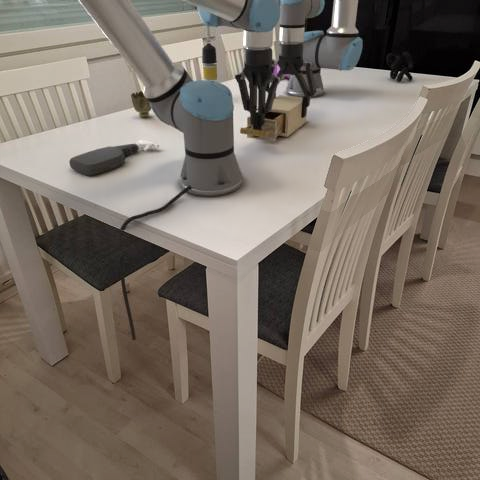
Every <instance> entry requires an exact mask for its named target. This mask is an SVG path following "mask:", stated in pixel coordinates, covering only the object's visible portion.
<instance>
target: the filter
mask: <svg viewBox="0 0 480 480" xmlns="http://www.w3.org/2000/svg"><path fill="white" fill-rule="evenodd" d="M205 27H206V29H205V30H206V31H205V33H206V39H207V40H206V42H207V43H206V45H204V46H202V49H201V50H202V51H201V52H202V54H201V55H202V57H201V58H202V61H201V63H202V71H203V72H202V73H203V74H202V75H203V80H206V81H211V82H216V80H218V64H216V63H218V61H217V48H216V47H215V46H214V45H212V43H210V42H211V40H210V39H211V31H210V29H211V28H210V27H207V26H205Z"/></svg>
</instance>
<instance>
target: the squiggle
mask: <svg viewBox="0 0 480 480" xmlns="http://www.w3.org/2000/svg"><path fill="white" fill-rule="evenodd" d="M401 57H402V59H401ZM391 59H392V60H391ZM393 60H394V61H393ZM385 61H386V64H387V67H390V68H391V70H390V72H389V78H390V79H391V80H395V79H396V81H397V82H399V83H400V82H402V81H403V79H404V76H406V78H407V80H408V81H412V80H413V79H414V77H413V75H412V74H411V73H410V72H409V71H410V70H412V69H413V68H414V64H413V61H412V57H411V54H410V53H409V52H408V51H403V53H402V54H401V55H396V54H394V53H392V52H390V53H387V55H386V57H385ZM406 62H407V65H408V66H407V67H405V66H404V65H405V64H406ZM400 70H401V71H400Z"/></svg>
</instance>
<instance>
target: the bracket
mask: <svg viewBox="0 0 480 480" xmlns="http://www.w3.org/2000/svg"><path fill="white" fill-rule="evenodd" d="M279 70H280V67H279V66H278V65H277V66H276V67H275V70H274V74H275V75H276V76H277V74H278V72H279ZM285 76H286V77H289V78H290V76H291V75H290V74H287V75H286V74H284V75H283V76H282V78H281V81H282V80H286V78H285Z"/></svg>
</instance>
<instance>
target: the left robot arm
mask: <svg viewBox="0 0 480 480" xmlns="http://www.w3.org/2000/svg"><path fill="white" fill-rule="evenodd" d="M77 1H78V2H79V3H80V5H81V6H82V7H83V9H84V10H85V11H86V12H87V14H88V15H89V16H90V18H91V19H92V20H93V21H94V23H95V24H96V25H97V27H98V28H99V29H100V30H101V31H102V33H103V34H104V36H105V37H106V38H107V39H108V41H109V42H110V43H111V45H112V46H113V48H115V50H116V51H117V52H118V54H119V55H120V57H122V59H123V60H124V62H126V64H127V65H128V66H129V67H130V69H131V70H132V72H133V73H134V74H135V75H136V77H137V78H138V79H139V81H140V82H141V83H142V84H143V90H142V92H143V93H144V96H145V97H146V98H147V100H148V101H149V102H150V105H151V111H152V112H153V113H154V116H156V117H157V118H158V119H159V120H160V121H161V122H162V123H163V124H165V125H168V126H170V127H172V128H174V129H175V130H177V131H178V132H180V133H183V141H184V142H183V143H184V154H185V155H184V158H183V164H182V168H181V171H180V177H179V178H180V179H179V183H180V184H179V185H180V188H181V189H182V190H181V191H179V192H178V193H177V194H176V195H175V196H174V197H173V198H171V199H169V201H167V203H165V204H164V205H163V206H161V207H159V208H155V209H152V210H148V211H146V212H143V213H140V214H136V215H132V216H130V217H129V218H127V219H125V220H124V222H123V223H122V225H121V227H120V228H119V230H120V231H124V230H125V229H126V227H128V225H129V224H130V223H131V222H132V221H136V220H139V219H142V218H145V217H148V216H151V215H155V214H158V213H161V212H163V211H165V210H166V209H169V207H171V205H172V204H174V203H175V202H177V200H178V199H180V198H181V197H182V196H183V195H184V194H186V193H187V194H190V195H194V196H199V197H221V196H224V195H229V194H232V193H234V192H235V191H237V190H239V189H240V188H241V187H242V185H243V174H242V171H241V168H240V165H239V163H238V160H237V157H236V154H235V132H234V131H235V130H234V127H235V126H234V110H235V105H234V100H233V98H234V97H233V94H232V91H231V89H230V88H229V87H228V86H227V85H225V84H223V83H221V82H219V81H215V82H211V81H208V80H204V79H203V80H193V78H192V77H191V76H190V74H189V73H188V71H187V70H186V68H185V67H184V65H183V64H181V63H179V62H173V61H172V59H171V58H170V56H169V55H168V54H167V52H166V51H165V49H164V48H163V46H162V44H161V43H160V42H159V40H158V39H157V38H156V36H155V35H154V33H153V32H152V30H151V29H150V28H149V26H148V25H147V23H146V21H145V20H144V19H143V17H142V16H141V15H140V13H139V12H138V10H137V8H136V7H135V5H134V4H133V3H132V2H131V0H77ZM181 1H182V2H185V3H187V4H190V5H192V6H194V7H196V8H198V16H199V19H200V21H201V23H202V24H203V25H204V26H205V27H206V26H207V27H209V28H210V27H211V28H213V27H214V28H218V27H228V28H233V29H239V30H243V47H244V50H243V67H242V71H241V72H239V73H236V74H235V75H234V79H235V80H236V83H237V85H238V89H239V93H240V98H241V102H242V107H243V110H244V111H247V112H248V113H249V117H250V123H251V124H252V125H253V129H255V130H262V125H264V123H265V113H268V112H269V111H271V109H272V105H273V101H274V97H275V93H276V94H277V89H278V85H279V84H280V82H281V81H282V80H281V77H280V76H279V77H277V76H276V75H275V74H274V73H273V69H272V59H273V49H272V47H273V39H274V28H276V27H277V25H278V23H279V21H280V5H279V2H278V0H181ZM270 78H271V83H270V86H269V87H270V88H269V92H266V86H267V82H268V80H269V79H270ZM246 80H247V81H246ZM247 82H248V84H247ZM253 137H257V138H258V137H259V136H254V135H253ZM118 263H119V277H120V284H121V291H122V296H123V299H124V300H123V301H124V305H125V309H126V313H127V318H128V322H129V328H130V332H131V333H130V334H131V338H132V339H131V340H132V341H135V340H137V338H136V332H135V326H134V321H133V316H132V311H131V307H130V303H129V298H128V293H127V287H126V286H127V285H126V279H125V272H124V271H125V268H124V267H125V266H124V257H121V256H119V257H118Z"/></svg>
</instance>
